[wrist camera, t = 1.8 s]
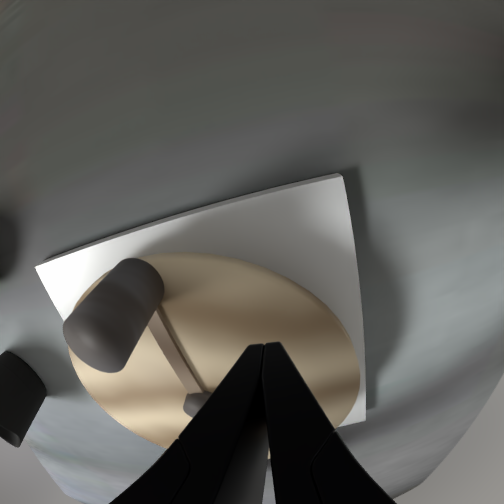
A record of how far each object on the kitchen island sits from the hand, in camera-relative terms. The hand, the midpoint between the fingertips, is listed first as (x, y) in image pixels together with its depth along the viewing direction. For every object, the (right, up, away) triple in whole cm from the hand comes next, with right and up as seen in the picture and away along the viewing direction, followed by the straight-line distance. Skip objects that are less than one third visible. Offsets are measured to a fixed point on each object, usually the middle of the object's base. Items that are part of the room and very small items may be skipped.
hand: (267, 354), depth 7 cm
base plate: (-4, -6, +14) cm, 16 cm away
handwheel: (-4, -6, +13) cm, 15 cm away
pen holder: (-32, -14, +20) cm, 40 cm away
